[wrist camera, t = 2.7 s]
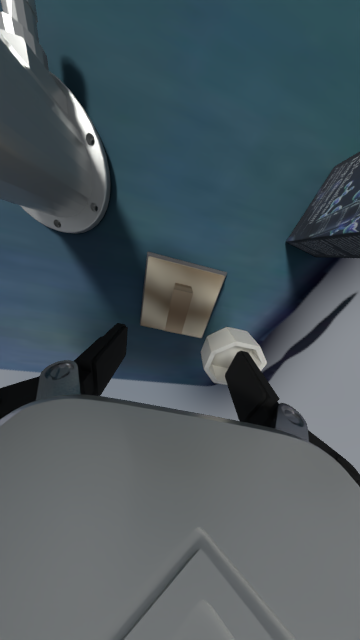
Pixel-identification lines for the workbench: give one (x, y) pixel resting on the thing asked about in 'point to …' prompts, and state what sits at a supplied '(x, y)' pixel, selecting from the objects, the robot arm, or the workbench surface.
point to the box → (333, 215)
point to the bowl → (228, 352)
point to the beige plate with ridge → (179, 297)
